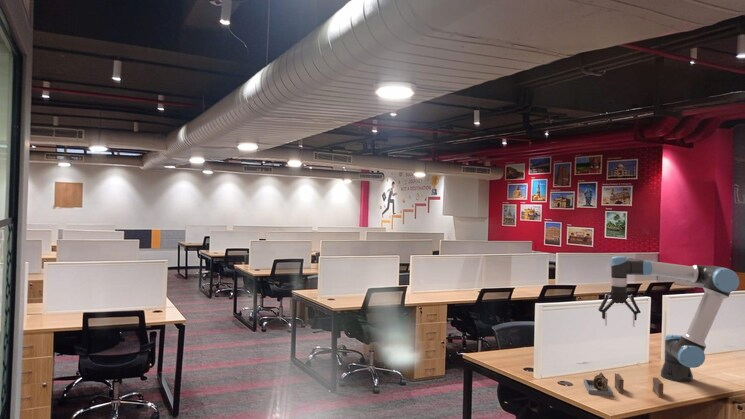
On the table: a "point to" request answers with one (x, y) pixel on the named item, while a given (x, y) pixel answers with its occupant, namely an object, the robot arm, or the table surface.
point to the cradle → (656, 385)
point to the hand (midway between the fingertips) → (619, 325)
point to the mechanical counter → (600, 382)
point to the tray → (590, 386)
